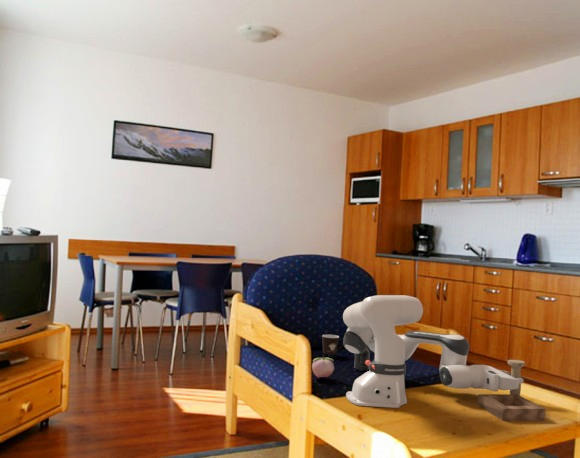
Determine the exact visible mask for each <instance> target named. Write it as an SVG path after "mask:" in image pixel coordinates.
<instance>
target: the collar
mask: <svg viewBox="0 0 580 458" xmlns="http://www.w3.org/2000/svg"><path fill="white" fill-rule="evenodd" d="M478 405H479V407H480V408H481V409H483V408H484V409H483V410H485V411H486V410H487V412H488V413H489V414H491V415H493V416H494V417H496V418H498V419H499V420H500V421H502V422H503V421H506V422H507V421H509V422H510V421H512V422H514V421H516V422H517V421H525V422H526V421H545V420H546V408H544V407H543V406H541V405H539V404H537V403H535V402H533V401H531V400H529V399H527V398H525V397H523V396H521V394H520V395H518V394H510V393H509V394H507V393H506V394H503V393H499V394H498V393H497V394H496V393H495V394H491V393H489V394H488V393H487V394H486V393H484V394H483V393H481V394H480V393H479V394H477V406H478Z"/></svg>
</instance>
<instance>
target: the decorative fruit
mask: <svg viewBox="0 0 580 458" xmlns="http://www.w3.org/2000/svg"><path fill="white" fill-rule="evenodd" d="M334 362H335V361H334V359H333V358H329V357H324V355H323V354H322V357H316V358H314V359H313V360H312V365H311V368H312V369H311V370H312V372H313V374H314V375H315V377H317V378H319V377H327V378H328V377H330V376H331V375H332V374H333V373H334V370H335V366H334Z"/></svg>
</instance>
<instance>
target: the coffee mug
mask: <svg viewBox="0 0 580 458" xmlns="http://www.w3.org/2000/svg"><path fill="white" fill-rule="evenodd" d="M343 339H344V338H340V336H339V335H336V334H322V336H321V342H322V354H323V353H324V354H328V355H335V354H336V355H337V353H338V350H340V349H342V348H343V347H344V344H343V343H342V345H341V346H339V347H338V345H339V342H340V341H343Z"/></svg>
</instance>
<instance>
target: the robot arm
mask: <svg viewBox="0 0 580 458" xmlns="http://www.w3.org/2000/svg"><path fill="white" fill-rule="evenodd" d="M423 314H424V307H423V304H422V302H421V300H420V299H419V298H418V297H414V296H410V295H405V294H404V295H400V294H398V295H397V294H394V295H393V294H388V295H387V294H385V295H384V294H382V295H381V294H379V295H378V294H377V295H372V296H368V297H364V299H363V300H362V301H359V302H356V303H353V304H351V305H349V306H348V307H346V309H344V311H343V314H342V319H343V323H344V324H345V325H346V327H347V329H346V332H344V336H343V338H342V339H343V340H342V345H343V344H344V346H343V347H344V348H345V349H346V350H347V351H348V352H349V353H353V354H354V355H355V354H362V353H363V352H364V351H365V350H366V348H367V345H368V348H367V349H368V350H369V351H371V352H373V353H374V359H373V360H372V361H371V360H370V359H369V360H366V361H365V364H366V365H367V366H369V371H367V372H363V374H361V375H360V376H358V377H357V378H356V379H354V382H353V384H352V387H351V388H352V389H351V391H347V392H346V394H345V397H346V399H347V400H348V401H349V402H350V403H352V404H353V405H356V406H360V407H361V406H362V407H376V408H377V407H378V408H393V409H399V408H401V406H403V405H406V404H407V403H408V399H407V394H406V387H405V386H406V384H405V377H406V371H407V369H406V367H407V366H406V365H407V364H406V362H405V361H407V360H408V359H410V358H411V356H412V355H413V354H414V352H415V351H416V350H417V348H418V346H419V345H421V344H428V345H429V344H430V345H435V346H440V347H441V356H440V361H439V373H438V374H439V379H440V382H441V383H442V385H443V386H445V387H448V388H454V389H470V388H471V389H472V388H473V389H477V390H478V389H481V390H487V391H490V392H499V391H510V390H515V389H518V386H519V383H521V384H524V381H525V380H524V378H522V377H521V378H514V377H512V376H511V374H510V372H509V371H507V370H501V369H497V368H495V367H493V366H490V365H486V364H471V365H467V358H468V355H469V351H470V347H471V345H470V343H469V341H468V339H467V338H466V337H465V336H464V335H461V334H452V333H451V334H450V333H440V332H439V333H438V332H437V333H436V332H431V331H429V332H428V331H420V330H409V331H406V332H405V333H404V334H397V333H396V329H395V326H397V327H398V326H406V325H411V324H414V323H417V322H419V321H420V320H421V319H422V316H423Z"/></svg>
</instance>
